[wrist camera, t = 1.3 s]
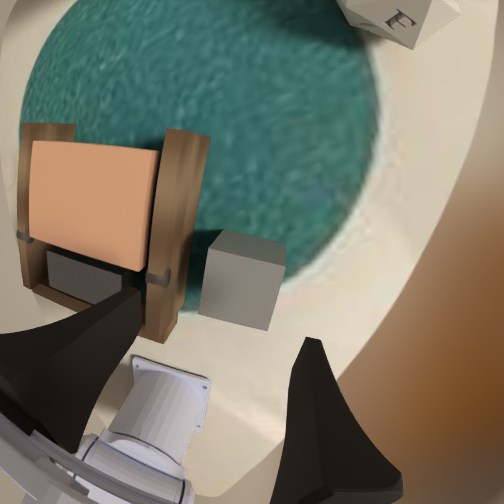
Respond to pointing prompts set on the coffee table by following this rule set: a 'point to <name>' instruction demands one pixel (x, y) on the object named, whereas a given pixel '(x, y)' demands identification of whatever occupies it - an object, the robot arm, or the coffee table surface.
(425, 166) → the coffee table surface
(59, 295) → the frame
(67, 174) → the trapdoor
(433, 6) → the die
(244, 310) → the stone
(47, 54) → the coffee table surface
